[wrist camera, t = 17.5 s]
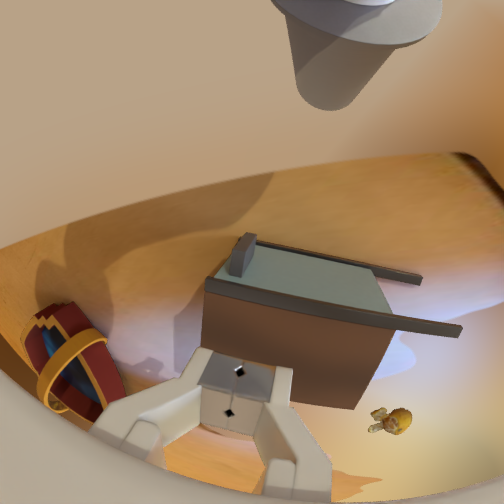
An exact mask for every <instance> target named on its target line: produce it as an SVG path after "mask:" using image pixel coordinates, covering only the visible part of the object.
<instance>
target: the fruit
mask: <svg viewBox="0 0 504 504" xmlns="http://www.w3.org/2000/svg"><path fill="white" fill-rule="evenodd" d="M386 412H387V410H386V409H385V408H380V409H379V410H375V411H374V412H372V413H371V415H372V417H373V418H374V420H375V421H382V422H380V423H377V424H375V425H371V426H370V427H369V429H368V432H370V433H374V432H376V431H379V430H382V429H385V431H387V432H389V433H392V434H394V435H399V434H401V433H402V432H404V431H405V430H406V429H407V428H408V427H409V426H410V424H411V422H412V414H411V412H410V411H408V410H405V409H404V408H400V409H396V410H395V409H394V410H393V411H392V412H391V413H389V414H386Z"/></svg>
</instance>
